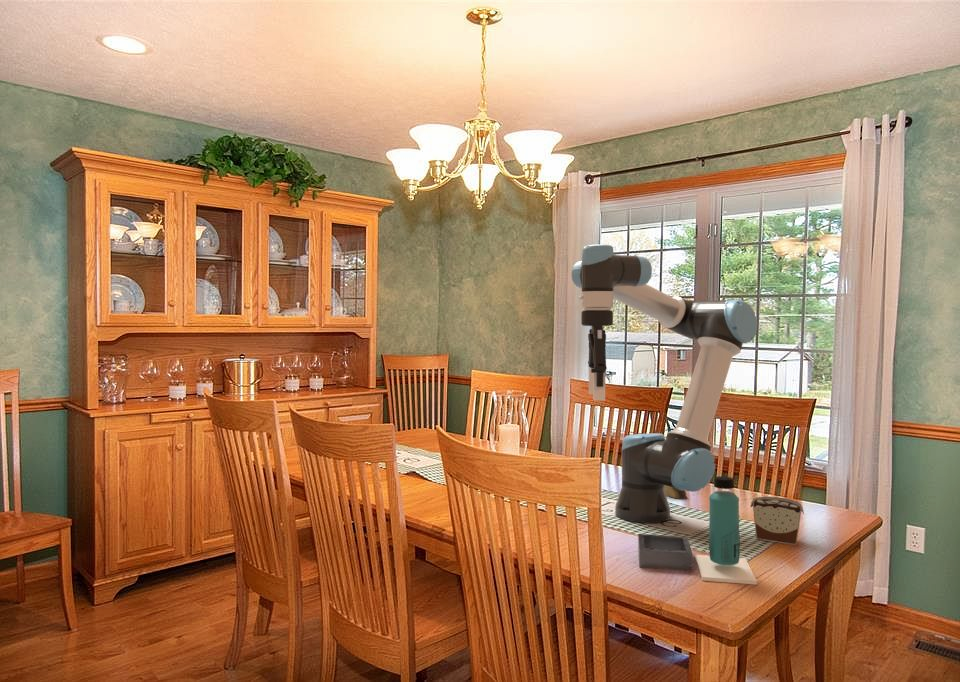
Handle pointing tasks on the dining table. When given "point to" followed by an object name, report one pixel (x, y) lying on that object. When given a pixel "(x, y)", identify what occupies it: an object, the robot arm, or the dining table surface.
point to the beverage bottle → (724, 523)
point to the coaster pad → (725, 571)
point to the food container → (777, 519)
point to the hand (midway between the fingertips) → (596, 397)
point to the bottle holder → (664, 552)
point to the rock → (674, 492)
